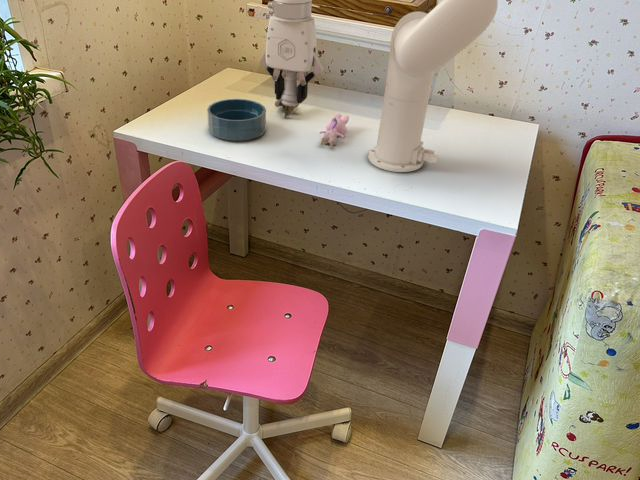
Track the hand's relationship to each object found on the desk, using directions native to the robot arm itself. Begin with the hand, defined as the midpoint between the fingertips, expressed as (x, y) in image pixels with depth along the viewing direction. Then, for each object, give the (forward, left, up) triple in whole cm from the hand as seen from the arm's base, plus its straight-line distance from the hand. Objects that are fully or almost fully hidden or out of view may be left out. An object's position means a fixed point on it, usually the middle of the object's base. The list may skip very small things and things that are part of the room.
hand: (290, 98), depth 123 cm
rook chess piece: (0, 0, -1) cm, 1 cm away
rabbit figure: (-7, -14, -13) cm, 20 cm away
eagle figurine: (+9, -23, -13) cm, 28 cm away
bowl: (+16, -6, -13) cm, 22 cm away
